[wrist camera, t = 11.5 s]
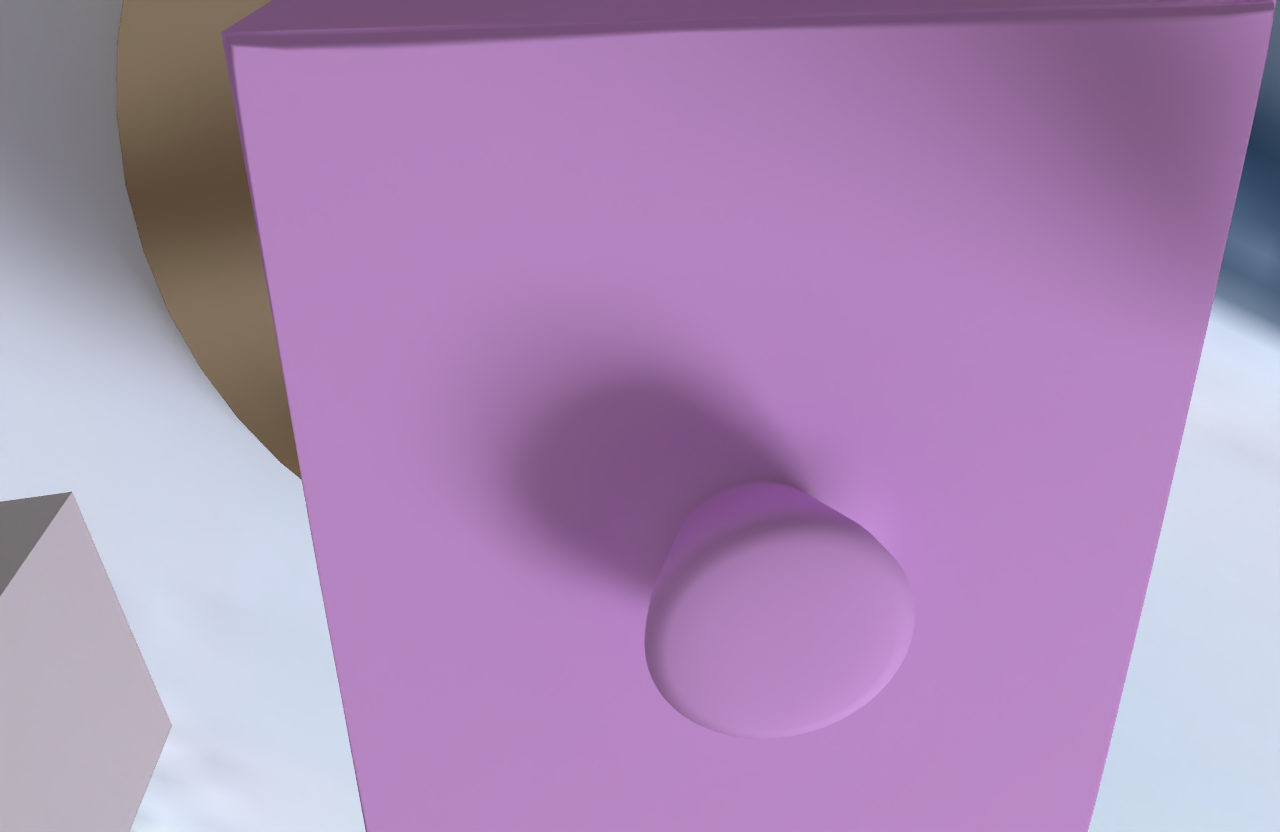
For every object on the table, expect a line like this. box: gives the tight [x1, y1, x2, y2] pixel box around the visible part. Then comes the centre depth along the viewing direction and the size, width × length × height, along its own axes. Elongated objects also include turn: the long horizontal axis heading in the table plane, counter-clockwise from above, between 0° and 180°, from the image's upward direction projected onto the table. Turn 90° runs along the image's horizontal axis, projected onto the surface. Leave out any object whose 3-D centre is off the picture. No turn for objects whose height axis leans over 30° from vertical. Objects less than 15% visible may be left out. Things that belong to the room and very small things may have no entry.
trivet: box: [117, 0, 302, 480], centre depth 23 cm, size 20×20×1 cm
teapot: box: [221, 0, 1277, 832], centre depth 16 cm, size 20×10×12 cm, turn 1°
